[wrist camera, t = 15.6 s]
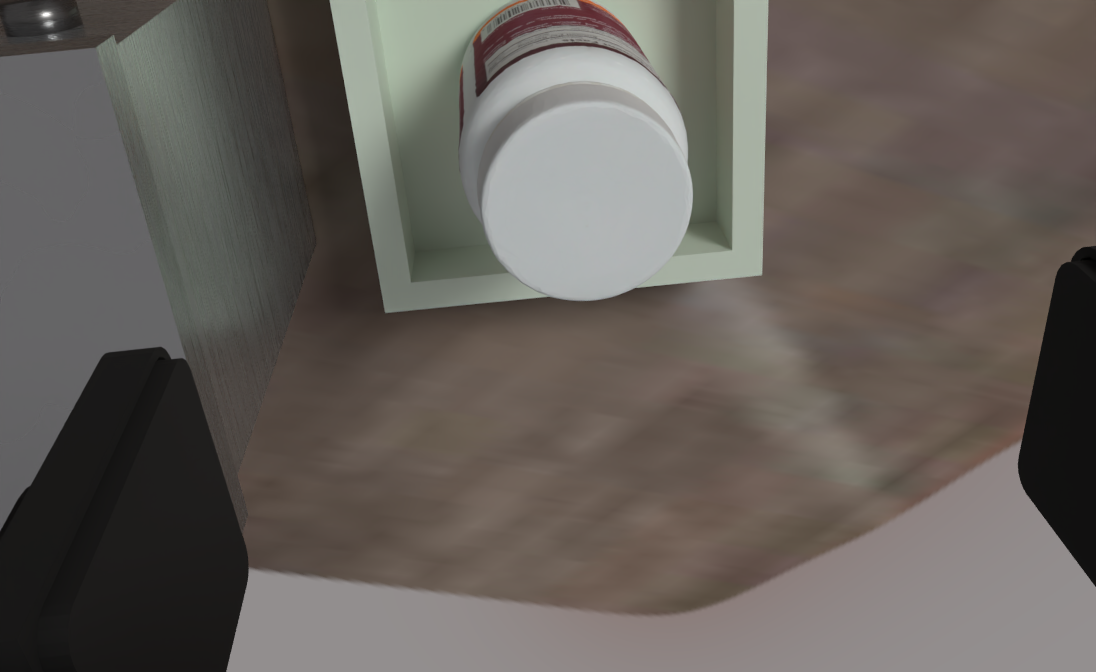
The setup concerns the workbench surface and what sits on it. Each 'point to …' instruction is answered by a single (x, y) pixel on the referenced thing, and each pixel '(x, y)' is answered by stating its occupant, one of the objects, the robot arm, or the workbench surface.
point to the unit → (143, 211)
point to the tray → (433, 139)
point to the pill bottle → (571, 150)
